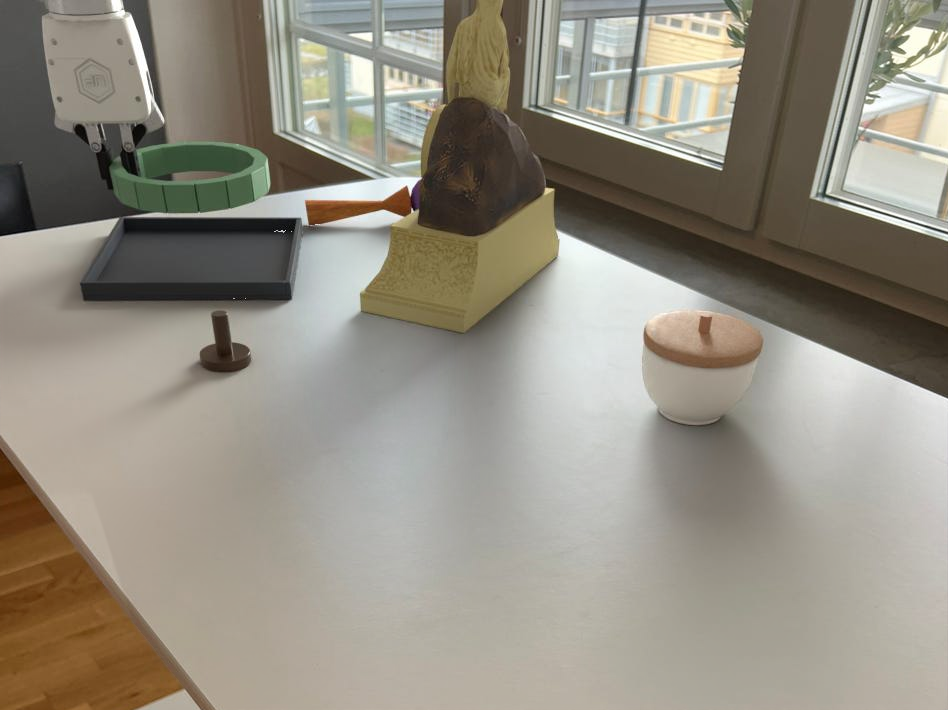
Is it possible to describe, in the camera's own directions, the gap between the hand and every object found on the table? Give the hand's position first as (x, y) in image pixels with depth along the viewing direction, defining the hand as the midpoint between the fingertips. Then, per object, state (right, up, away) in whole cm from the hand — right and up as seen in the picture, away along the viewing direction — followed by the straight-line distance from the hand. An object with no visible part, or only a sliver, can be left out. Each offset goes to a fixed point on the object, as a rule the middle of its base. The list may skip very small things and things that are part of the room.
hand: (123, 185), depth 115 cm
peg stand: (+16, -25, -15) cm, 33 cm away
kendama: (+28, +4, +20) cm, 35 cm away
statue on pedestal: (+40, -10, +4) cm, 41 cm away
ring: (+8, 0, +1) cm, 8 cm away
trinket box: (+62, -31, -20) cm, 72 cm away
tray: (+7, -7, +6) cm, 12 cm away
